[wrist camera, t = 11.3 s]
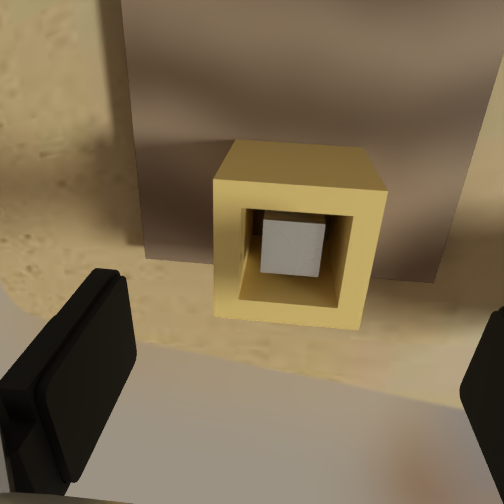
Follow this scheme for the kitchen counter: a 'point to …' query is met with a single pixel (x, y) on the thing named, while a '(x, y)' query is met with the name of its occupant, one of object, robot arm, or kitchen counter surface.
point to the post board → (309, 113)
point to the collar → (296, 200)
